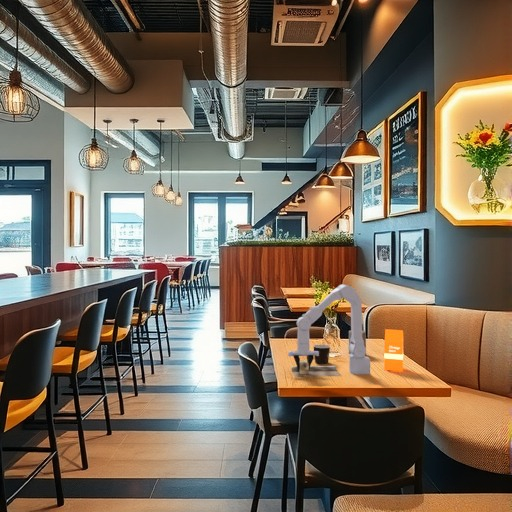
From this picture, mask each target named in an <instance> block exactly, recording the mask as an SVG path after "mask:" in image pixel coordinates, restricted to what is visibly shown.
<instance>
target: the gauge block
mask: <svg viewBox="0 0 512 512" xmlns="http://www.w3.org/2000/svg"><path fill="white" fill-rule="evenodd" d="M299 373H300V374H309V363H308V362H307V359H306V360H300V372H299Z"/></svg>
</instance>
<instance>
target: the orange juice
mask: <svg viewBox="0 0 512 512" xmlns="http://www.w3.org/2000/svg"><path fill="white" fill-rule="evenodd" d="M383 356H384V363H383V364H384V366H383V367H384V368H383V369H384V371H387V370H391V371H390V372H398V371H399V373H401V372H402V373H403V370H404V330H401V329H389V328H388V329H386V328H385V330H384V355H383Z"/></svg>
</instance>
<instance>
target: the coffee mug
mask: <svg viewBox="0 0 512 512" xmlns="http://www.w3.org/2000/svg"><path fill="white" fill-rule="evenodd" d="M312 346H313V347H312V348H313V351H318V352H319V356H314V362H315V364H318V365H328V364H329V359H330V352H331V351H330V350H331V346H330V345H327V344H314V345H312Z"/></svg>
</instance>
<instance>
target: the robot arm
mask: <svg viewBox="0 0 512 512" xmlns="http://www.w3.org/2000/svg"><path fill="white" fill-rule="evenodd" d="M342 298H343V299H344V300H346V301H347V302H348V303H349V304H350V330H351V338H350V344H349V343H348V346H347V347H348V352H349V351H350V352H351V353H350V355H349V369H348V370H349V374H353V375H371V360H370V357H369V356H366V355H367V347H366V348H365V346H364V341H363V338H362V330H363V314H362V313H363V310H362V303H363V302H362V299H361V297H360V296H359V294H358V292H357V291H356V289H355V288H354V287H352V286H351V285H347V284H344V283H343V284H342V283H341V284H339V285H338V286H337V287H335V288H334V289H333V290H332V291H331V292H330V293H329V294H328V295H327V296H326V297H325V298H324V299H323V300H322V301H321V302H320V303H318V305H313V306H310V307H308V308H309V310H307V311H306V313H303V314H302V315H301V316H300V317H298V318H297V321H296V322H295V323H296V326H297V338H296V339H297V340H296V341H297V345H296V347H297V350H292V351H287V356H288V357H293V359H294V361H295V364H296V366H297V370H298V372H300V361H301V358H300V357H306V361H307V362H308V363H309V369H310V366H311V365H312V363H313V361H314V360H315V356H319V352H318V351H314V350H310V329H311V326H312V324H314V323H315V322H316V321H317V320H318V319H319V318H320V317H322V315H323V311H324V310H325V309H326V308H328V307H329V306H330V305H331V304H333V302H335V301H338V300H339V301H340V300H343V299H342ZM365 354H366V355H365Z"/></svg>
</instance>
